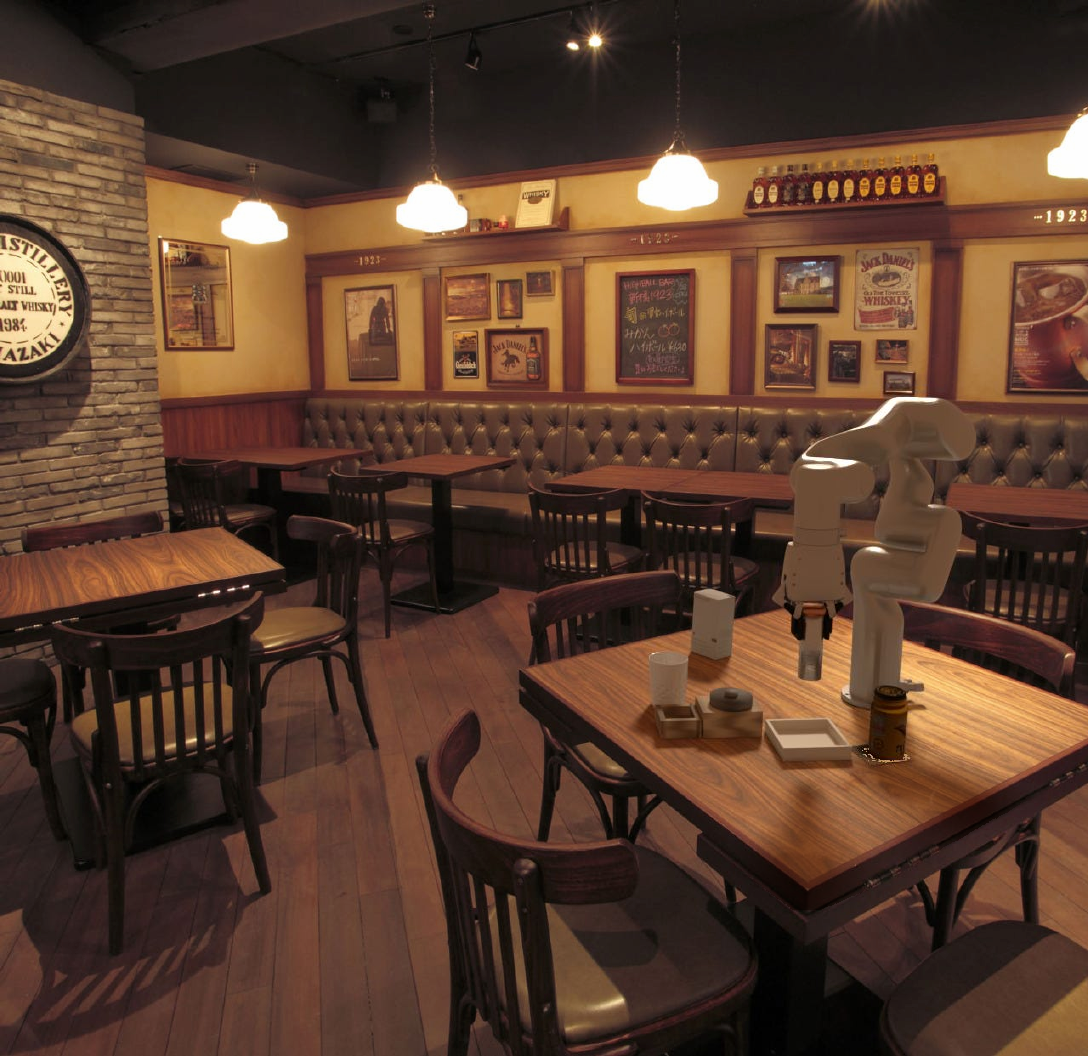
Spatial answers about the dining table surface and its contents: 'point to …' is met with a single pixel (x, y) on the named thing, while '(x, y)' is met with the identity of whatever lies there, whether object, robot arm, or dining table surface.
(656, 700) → the white cup
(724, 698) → the wooden condiment holder
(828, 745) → the tray
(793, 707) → the dining table surface
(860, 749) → the condiment
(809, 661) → the glass shaker
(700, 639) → the skincare box
